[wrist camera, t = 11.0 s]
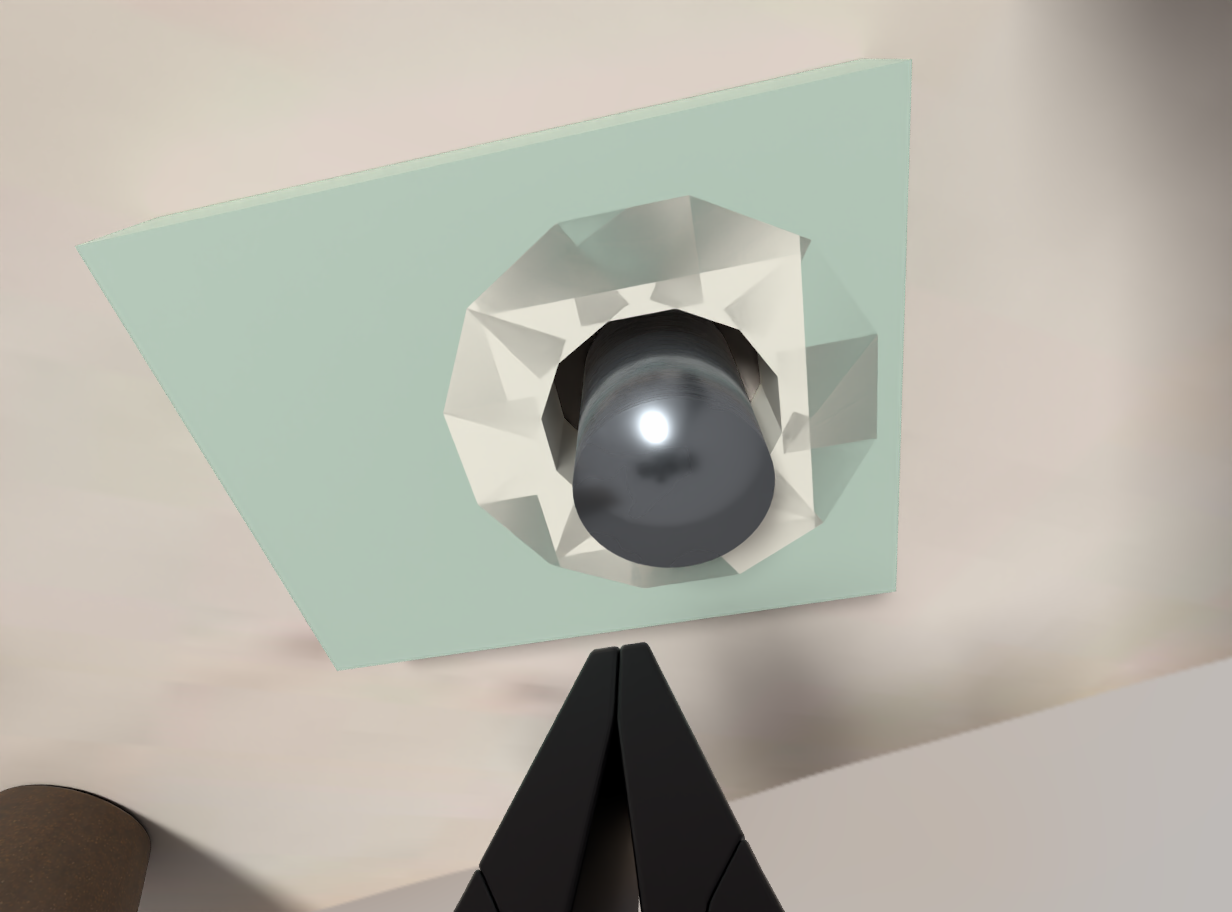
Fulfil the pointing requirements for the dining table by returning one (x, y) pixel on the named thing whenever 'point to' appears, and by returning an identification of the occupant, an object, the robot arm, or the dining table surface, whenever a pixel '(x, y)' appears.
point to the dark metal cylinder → (668, 443)
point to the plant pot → (69, 852)
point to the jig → (540, 358)
